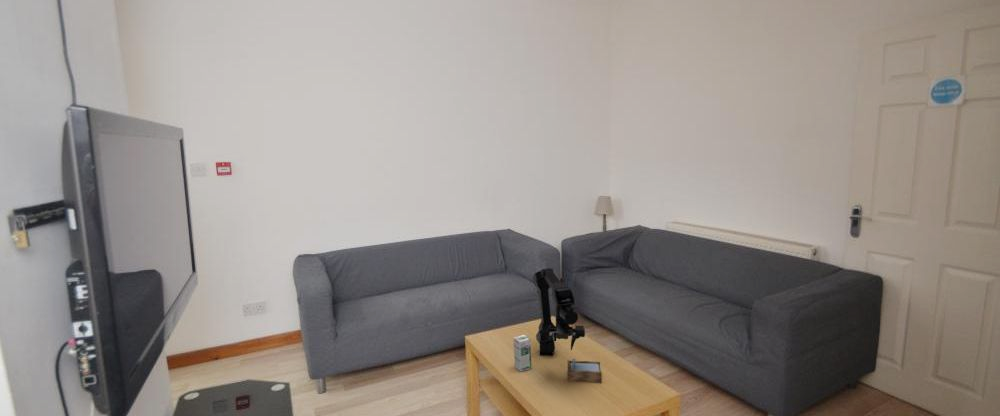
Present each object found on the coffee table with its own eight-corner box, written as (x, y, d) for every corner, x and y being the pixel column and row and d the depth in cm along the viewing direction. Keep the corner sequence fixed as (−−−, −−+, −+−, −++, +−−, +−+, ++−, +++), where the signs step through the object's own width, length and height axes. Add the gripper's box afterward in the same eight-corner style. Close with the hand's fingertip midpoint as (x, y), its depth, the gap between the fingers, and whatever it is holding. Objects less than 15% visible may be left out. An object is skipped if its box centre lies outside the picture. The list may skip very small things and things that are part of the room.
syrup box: (520, 372, 199) (519, 341, 196) (514, 366, 204) (513, 336, 202) (531, 368, 201) (530, 338, 199) (525, 363, 207) (524, 333, 204)
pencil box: (567, 381, 190) (567, 370, 190) (567, 370, 199) (567, 360, 198) (601, 382, 188) (601, 372, 188) (599, 371, 197) (599, 361, 196)
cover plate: (570, 372, 191) (570, 365, 190) (570, 364, 197) (570, 357, 197) (599, 373, 189) (599, 366, 189) (598, 365, 196) (598, 358, 195)
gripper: (539, 322, 184) (540, 357, 187) (585, 323, 182) (585, 359, 184) (540, 311, 195) (541, 345, 198) (584, 312, 192) (584, 346, 195)
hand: (562, 349), depth 193 cm, fingers open, 7 cm apart
